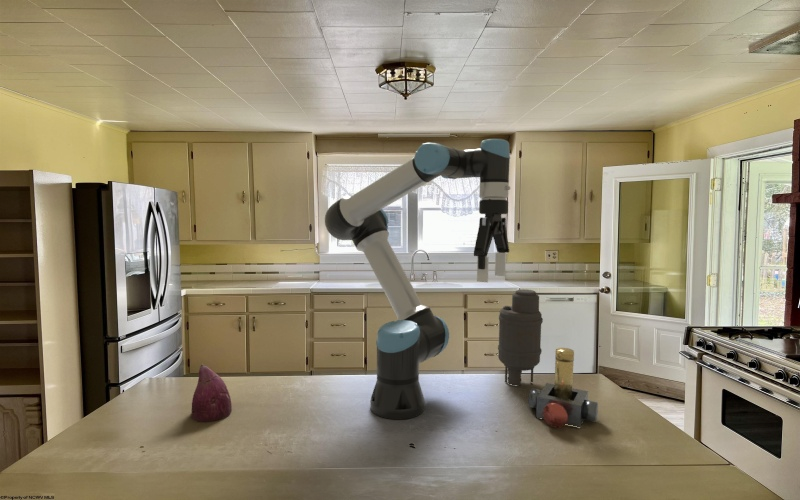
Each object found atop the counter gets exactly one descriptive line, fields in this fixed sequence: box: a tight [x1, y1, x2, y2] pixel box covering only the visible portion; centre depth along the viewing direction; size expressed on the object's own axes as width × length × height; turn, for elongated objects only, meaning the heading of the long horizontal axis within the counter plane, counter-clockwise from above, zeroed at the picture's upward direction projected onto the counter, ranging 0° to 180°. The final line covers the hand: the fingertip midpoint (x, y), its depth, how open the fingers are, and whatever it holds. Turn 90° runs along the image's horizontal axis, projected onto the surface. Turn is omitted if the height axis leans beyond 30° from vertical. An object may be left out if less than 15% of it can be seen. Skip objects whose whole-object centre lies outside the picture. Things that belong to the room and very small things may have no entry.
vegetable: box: [190, 362, 233, 423], centre depth 118 cm, size 10×10×15 cm
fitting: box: [554, 347, 575, 400], centre depth 119 cm, size 5×5×15 cm
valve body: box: [527, 382, 599, 429], centre depth 118 cm, size 17×15×6 cm
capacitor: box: [497, 289, 544, 386], centre depth 142 cm, size 14×14×30 cm
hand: (491, 278), depth 119 cm, fingers open, 13 cm apart
